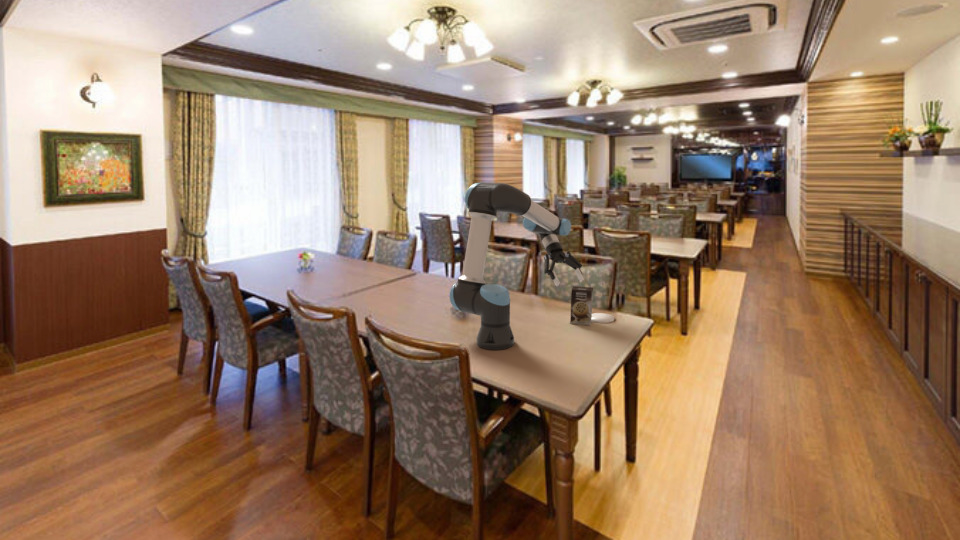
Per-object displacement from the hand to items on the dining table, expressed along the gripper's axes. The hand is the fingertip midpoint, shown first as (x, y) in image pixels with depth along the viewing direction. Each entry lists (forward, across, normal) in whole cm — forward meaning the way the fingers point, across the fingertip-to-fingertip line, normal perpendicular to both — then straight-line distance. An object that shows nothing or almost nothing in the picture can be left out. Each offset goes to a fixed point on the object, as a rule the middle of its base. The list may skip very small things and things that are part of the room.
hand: (570, 283), depth 226 cm
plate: (+18, -10, -4) cm, 22 cm away
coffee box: (+18, +1, -5) cm, 19 cm away
